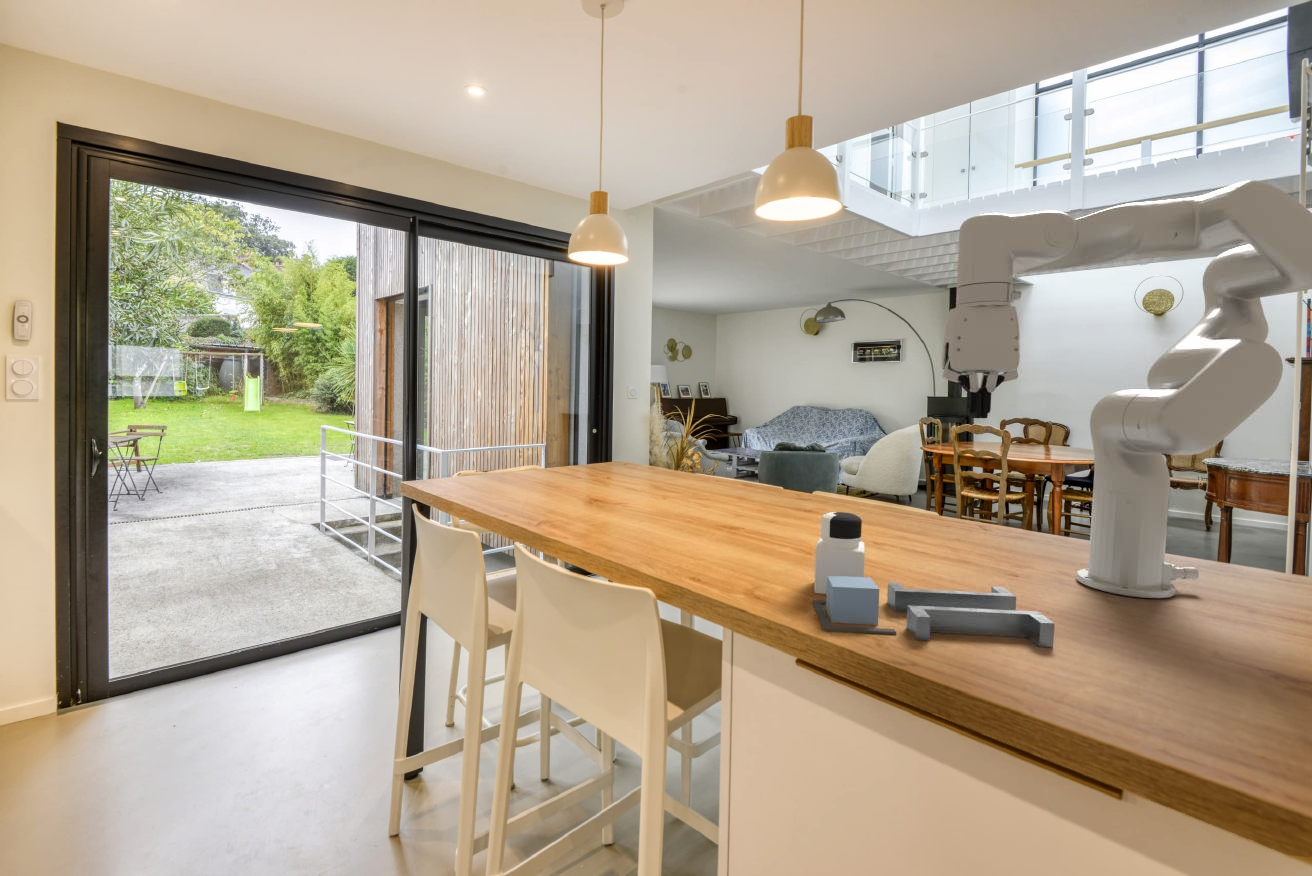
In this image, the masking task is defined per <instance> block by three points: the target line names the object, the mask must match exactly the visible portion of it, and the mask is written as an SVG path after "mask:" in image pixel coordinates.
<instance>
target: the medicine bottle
mask: <svg viewBox="0 0 1312 876" xmlns="http://www.w3.org/2000/svg"><path fill="white" fill-rule="evenodd" d="M862 523H863V521H862V518H861V517H860V516H858V515H857V514H855V513H850V512H844V511H843V512H842V511H833V512H830V511H829V512H827V513H825V514H823V515H822V516H821V520H820V538H819V539H818V541H817V543H816V547H815V549H814V551H815V553H814V554H815V556H814V560H815V561H814V592H815V594H819V595H820V594H821V595H826V591H827V576H848V577H865V555H866V553H865V552H866V551H865V544H866V543H865V542H864V541H862V529H863V527H862V526H863V525H862Z"/></svg>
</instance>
